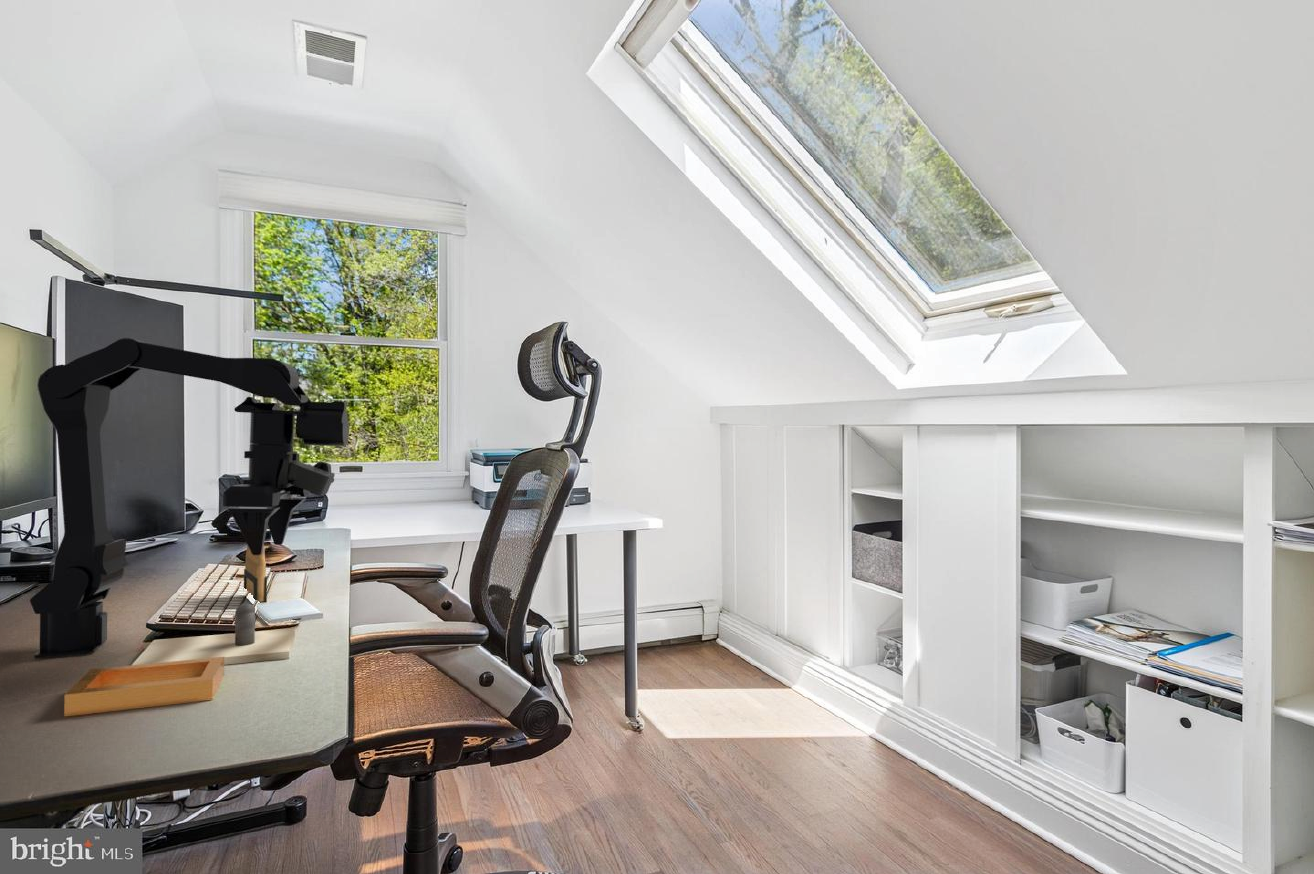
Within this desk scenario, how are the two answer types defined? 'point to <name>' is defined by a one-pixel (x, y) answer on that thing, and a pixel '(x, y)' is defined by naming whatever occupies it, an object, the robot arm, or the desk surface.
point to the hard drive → (288, 611)
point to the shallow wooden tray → (144, 686)
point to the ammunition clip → (256, 575)
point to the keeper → (225, 644)
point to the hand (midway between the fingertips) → (268, 549)
